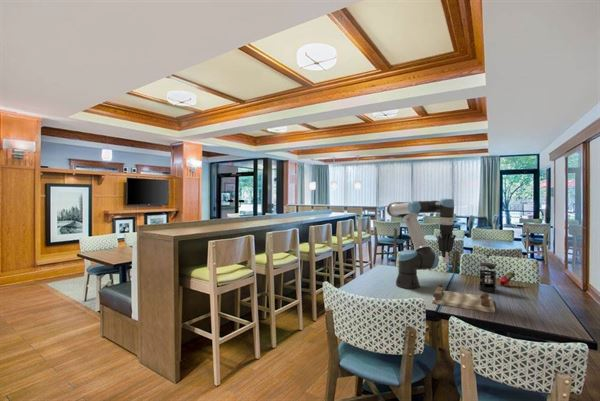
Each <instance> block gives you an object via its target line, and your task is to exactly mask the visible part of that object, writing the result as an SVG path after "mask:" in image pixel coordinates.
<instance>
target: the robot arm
mask: <svg viewBox="0 0 600 401" xmlns="http://www.w3.org/2000/svg"><path fill="white" fill-rule="evenodd" d="M454 210H455V200H454V199H453V198H441V199H440V200H423V201H422V200H418V201H417V200H414V201H413V200H411V201H403V202H402V201H398V202H397V201H395V202H391V203H389V204H388V205H387V207H386V212H387V214H388V215H389V217H392V218H401V220H402V222H404V223H405V224H406V228H407V230H408V233H409V236H410V238H411V241H412V244H413V247H414V249H406V250H401V251H400V252H399V253H398V258H397V260H398V274H397V277H396V279H395V285H396V286H397V287H399V288H402V289H408V290H411V289H412V290H413V289H414V290H415V289H418V288H420V281H419V277H418V270H419V271H420V270H421V271H422V270H435V269H436V268H437V267H438V266H439V261H440V257H439V253H438V252H436V251H433V249H432V247H431V246H429V245H428V243H427V240H426V238H425V235H424V233H423V231H422V229H421V228H422V227H421V226H420V223H419V220H418V217H419V215H420V214H433V213H434V214H436V213H437V214H439V234H438V235H436V236H435V238H436V240H437V246H438V250H439V251H440V252H441V256H442V262H443V263H444V264H447V263H449V256H450V253H451V252H452V251H453V247H454V242H455V239H456V237H457V235H455V234H453V233H454V232H453V231H454V225H453V224H454V215H455V214H454V213H455V212H454Z"/></svg>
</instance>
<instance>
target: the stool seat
mask: <svg viewBox="0 0 600 401" xmlns="http://www.w3.org/2000/svg"><path fill="white" fill-rule="evenodd" d="M435 292H436V289H435V291H433V296H432V301H431V302H432V304H434V303H436V304H435V305H441V306H448V307H455V308H460V309H467V310H473V311H477V312H478V311H479V312H480V311H481V312H486V313H493V314H495V313H496V312H495V311H496V309H495V304H494V299H493V297H491V296H489V294H490V293H487V292H482V291H480V295H477V294H471V293H463V292H455V291H451V290H450V291H448V290H443V294H442V297H441V300H440V299H435Z"/></svg>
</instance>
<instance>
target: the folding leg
mask: <svg viewBox="0 0 600 401" xmlns="http://www.w3.org/2000/svg"><path fill="white" fill-rule="evenodd" d="M435 290H436V292H435V291H434V292H435V299H440V300H441V297H442V294H443V291H444V285H443V284H442V283H439V284H438V285H437V287H436V289H435Z"/></svg>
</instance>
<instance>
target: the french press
mask: <svg viewBox="0 0 600 401" xmlns="http://www.w3.org/2000/svg"><path fill="white" fill-rule="evenodd" d="M484 257H486V258H487V259H489V257H493V255H492V254H487V253H486V254H484ZM496 266H497V264H495V263H491V262H480V263H479V267H480V268H482V267H486V269H482V270H479V285H478V287H479V289H478V290H479V291H480V292H486V293H488V294H495V293H496V292H497V286H496V284H497V283H496V281H497V280H496V277H497V272H496V271H494V270H496ZM489 276H490V278H489ZM486 277H487V278H486Z"/></svg>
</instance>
